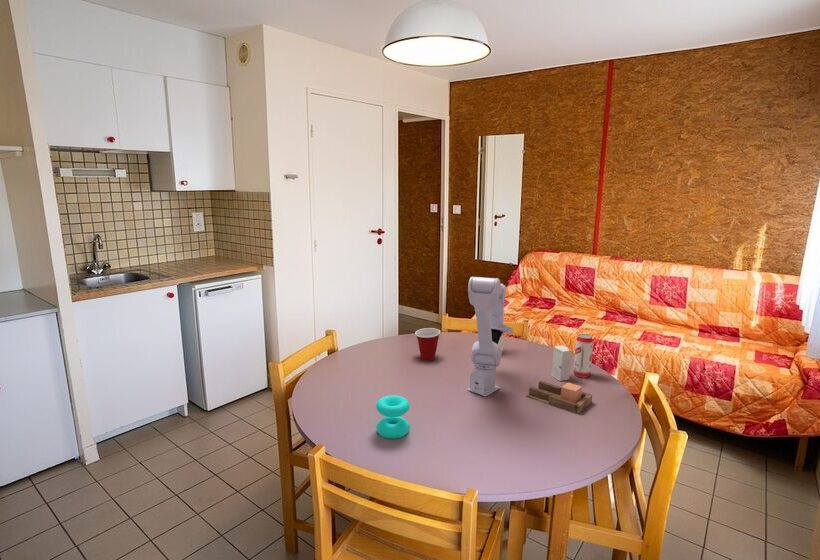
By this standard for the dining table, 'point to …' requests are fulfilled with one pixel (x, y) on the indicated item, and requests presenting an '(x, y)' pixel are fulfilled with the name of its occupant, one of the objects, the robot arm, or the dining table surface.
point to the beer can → (583, 355)
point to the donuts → (392, 416)
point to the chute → (558, 397)
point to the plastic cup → (427, 342)
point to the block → (571, 392)
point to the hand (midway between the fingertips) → (494, 347)
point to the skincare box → (561, 363)
